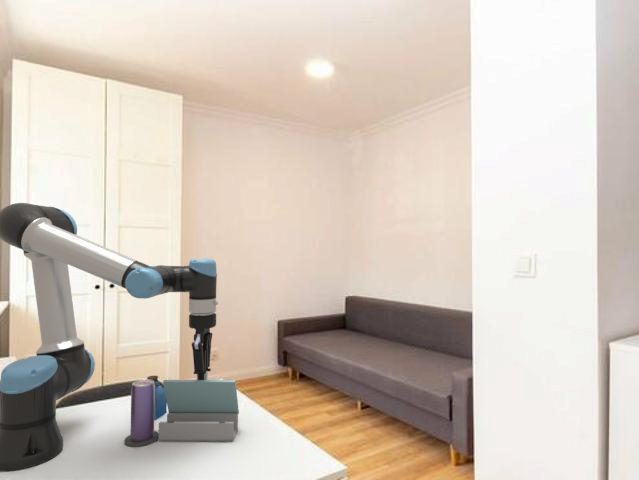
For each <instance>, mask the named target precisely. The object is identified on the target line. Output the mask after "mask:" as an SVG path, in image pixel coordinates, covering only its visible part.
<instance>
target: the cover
mask: <svg viewBox="0 0 639 480" xmlns="http://www.w3.org/2000/svg"><path fill="white" fill-rule="evenodd" d="M162 385H163V386H162V387H163V388H164V391H165V396H166V401H167V413H238V415H239V414H240V410H239V402H238V401H239V400H238V391H237V382H236V379H208V380H197V379H163V381H162Z"/></svg>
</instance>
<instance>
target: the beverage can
mask: <svg viewBox="0 0 639 480" xmlns="http://www.w3.org/2000/svg"><path fill="white" fill-rule="evenodd" d="M130 388H131V389H130V432H129V435H130V438H131V439H132V441H134V442H143V441H147V440H149V439H151V438H152V437H153V435H154V431H155V420H154V412H155V384H154V380H151V379H147V378H145V379H138V380H135V381H133V382H132V383H131V387H130Z"/></svg>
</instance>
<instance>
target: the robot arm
mask: <svg viewBox="0 0 639 480" xmlns="http://www.w3.org/2000/svg"><path fill="white" fill-rule="evenodd" d="M0 239H1V240H2V241H3V242H5V244H8V245H10V246H11V247H12V246H13V247H15V248H18V249H20V250H22V251H23V256H24V257H25V258H28V259H29V261H30V262H31V269H32V277H33V285H34V291H35V293H34V294H35V301H36V307H37V308H36V310H37V316H38V323H39V331H40V341H41V345H40V347H39V348H38V349H37V350H36V352H35V353H36V355H33V356H28V357H25V358H21V359H17V360H14V361H13V362H11V363H9V364H8V365H6V366H5V367H4V368H3V369H2V370H1V373H0V471H1V472H2V471H5V472H6V471H7V472H8V471H16V470H22V469H27V468H30V467H35V466H38V465H40V464H43V463H45V462H47V461H50V460H51V459H53V458H55V457H56V456H57V455H59V454H60V453H62V451H63V449H64V437H63V435H62V433H61V430H60V426H59V424H58V421H57V418H56V415H57V401H58V400H60V399H62V398H64V397H66V396H67V395H69V394H71V393H74V392H76V391H78V390H79V389H81V388H82V387H83V386H84V385H86V384H87V383H88V382H89V381H90V380H91V378H92V376H93V375H94V371H95V366H96V365H95V364H96V363H95V358H94V355H93V354H92V353H91V352H89V350H88V349H87V348H86V347H85V341H84V340H82V339H80V337H78V335H77V328H76V326H77V325H76V318H75V311H74V304H73V295H72V294H73V293H72V288H71V287H72V286H71V281H70V279H71V278H70V273H69V266H71V267H74V268H76V269H78V270H81V271H83V272H84V273H85V272H86V273H88V274H90V275H92V276H95V277H97V278H99V279H102V280H104V281H106V282H109V283H112V284H114V285H116V286H118V287H121V288H122V289H123V288H124V289H125V290H126V291H127V293H128V294H129V295H130V296H131V297H133V298H136V299H144V300H145V299H151V298H153V297H156V296H159V295H165V294H168V293H188V313H190V314H189V315H188V327H189V328H190V329H194V330H195V333H194V335H193V341H194V342H193V341H192V343H191V348H192V349H191V350H192V356H193V370H194V371H193V375H196V380H209V379H208V372H211V371H212V370H211V369H212V368H210V366H211V363H210V362H211V351H212V341H213V340H212V339H213V332H211V329H212V328H215V327H216V326H217V313H215V312H217V306H218V305H219V302H218V301H217V277H218V273H217V263H216V261H215V260H214V259H213V258H198V259H197V258H193V259H190V260H189V263H188V265H183V266H182V265H179V266H178V265H148V264H146V263H144V262H140V261H139V260H136V259H134V258H132V257H130V256H127V255H125V254H122V253H120V252H117V251H116V250H113V249H110V248H108V247H106V246H104V245H100V244H99V243H96V242H94V241H91V240H89V239H86V238H84V237H82V236H79V235H78V226H77V222H76V221H75V219H74V217H73V216H72V215H71V214H69V212H67V211H65V210H64V209H59V208H57V207H54V206H44V205H40V204H39V205H38V204H33V203H27V202H19V203H12V204H8V205H7V206H5V207H3V208H2V209H1V210H0Z"/></svg>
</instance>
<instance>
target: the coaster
mask: <svg viewBox="0 0 639 480" xmlns="http://www.w3.org/2000/svg"><path fill="white" fill-rule="evenodd" d="M123 442H124V443H123V444H124V445H125V446H127V447H131V448H141V447H142V448H143V447H146V446H150V445H152V444H154V443H156V442H159V431H156V430H154V435H153V437H152V438H151V439H149V440H147V441H143V442H134V441H132V439H131V438H130V434H129V435H128V436H126V437H125V438H124V440H123Z"/></svg>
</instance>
